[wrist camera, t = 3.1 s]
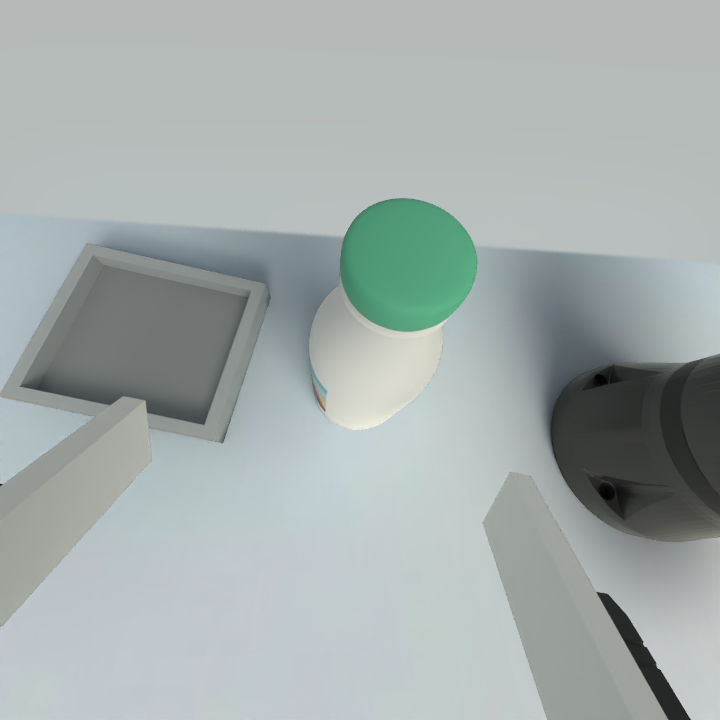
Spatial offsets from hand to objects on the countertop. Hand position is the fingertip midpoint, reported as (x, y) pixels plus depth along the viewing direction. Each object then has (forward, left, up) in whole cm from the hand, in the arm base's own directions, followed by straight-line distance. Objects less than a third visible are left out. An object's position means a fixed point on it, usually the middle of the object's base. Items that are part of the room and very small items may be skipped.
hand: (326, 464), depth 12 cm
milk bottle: (-1, -7, -16) cm, 18 cm away
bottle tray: (+17, -7, -16) cm, 24 cm away
